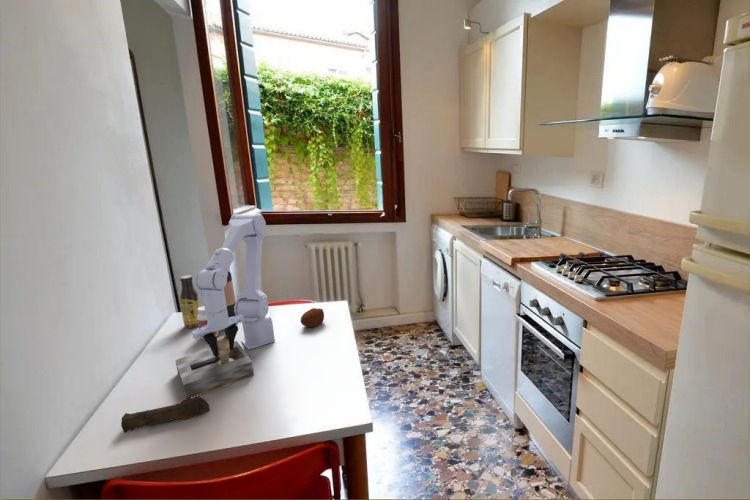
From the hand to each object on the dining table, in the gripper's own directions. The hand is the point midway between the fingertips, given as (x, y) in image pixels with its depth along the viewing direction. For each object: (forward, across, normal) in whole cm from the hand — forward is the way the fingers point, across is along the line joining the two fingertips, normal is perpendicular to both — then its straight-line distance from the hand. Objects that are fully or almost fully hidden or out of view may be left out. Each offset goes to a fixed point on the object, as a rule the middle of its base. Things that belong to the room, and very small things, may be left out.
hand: (223, 352), depth 112 cm
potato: (+6, -35, -3) cm, 36 cm away
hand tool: (+7, +20, +9) cm, 23 cm away
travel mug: (+6, -16, -31) cm, 36 cm away
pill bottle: (+6, -7, -27) cm, 29 cm away
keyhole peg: (+5, 0, 0) cm, 5 cm away
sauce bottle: (+6, -8, -41) cm, 43 cm away
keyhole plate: (+6, +3, -1) cm, 7 cm away
